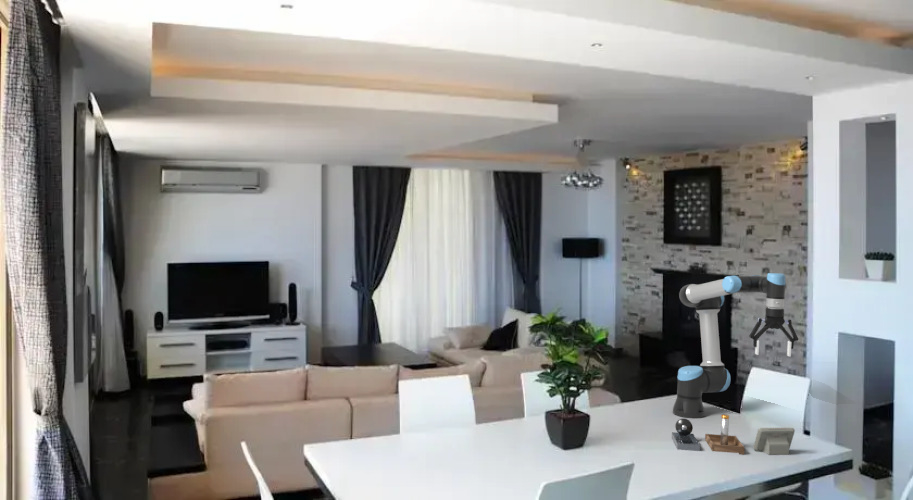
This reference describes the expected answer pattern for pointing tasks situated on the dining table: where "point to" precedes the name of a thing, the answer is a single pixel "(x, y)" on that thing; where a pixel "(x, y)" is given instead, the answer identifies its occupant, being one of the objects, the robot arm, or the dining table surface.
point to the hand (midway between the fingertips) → (772, 355)
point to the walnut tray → (732, 446)
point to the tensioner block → (685, 436)
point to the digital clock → (774, 440)
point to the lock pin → (724, 429)
